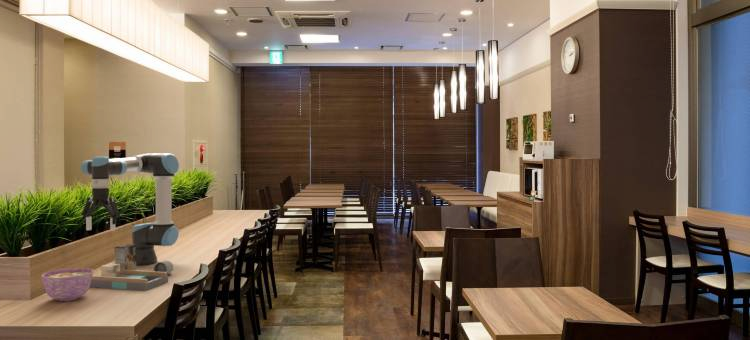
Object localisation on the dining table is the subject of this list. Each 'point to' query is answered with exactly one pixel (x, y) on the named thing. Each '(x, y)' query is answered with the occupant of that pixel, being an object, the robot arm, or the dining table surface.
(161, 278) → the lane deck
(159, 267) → the ceramic mug
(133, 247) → the coffee box
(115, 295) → the dining table surface
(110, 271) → the maple block
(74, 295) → the bowl of food
